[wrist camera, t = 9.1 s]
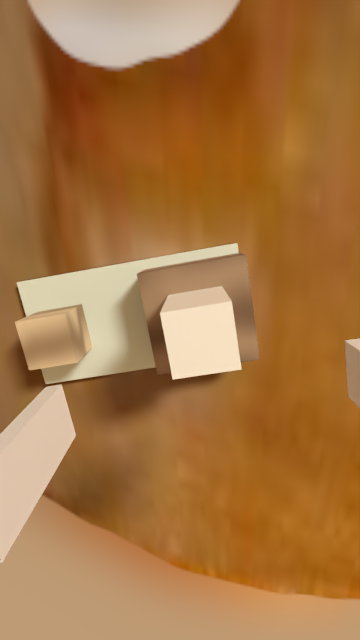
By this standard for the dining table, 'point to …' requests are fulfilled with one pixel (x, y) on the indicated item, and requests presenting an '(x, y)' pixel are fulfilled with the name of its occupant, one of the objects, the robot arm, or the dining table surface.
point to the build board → (106, 312)
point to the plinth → (196, 277)
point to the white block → (200, 333)
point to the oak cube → (54, 337)
